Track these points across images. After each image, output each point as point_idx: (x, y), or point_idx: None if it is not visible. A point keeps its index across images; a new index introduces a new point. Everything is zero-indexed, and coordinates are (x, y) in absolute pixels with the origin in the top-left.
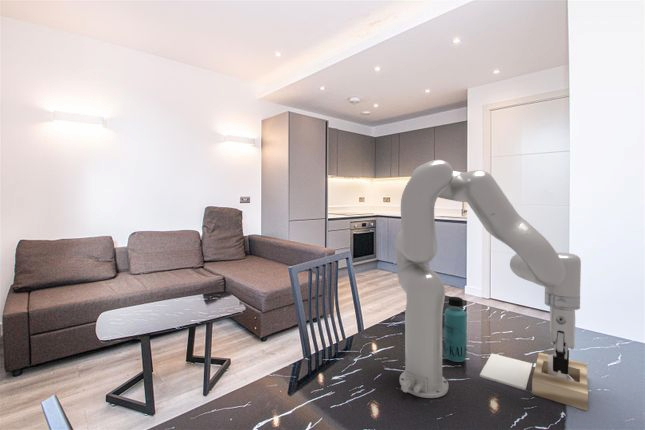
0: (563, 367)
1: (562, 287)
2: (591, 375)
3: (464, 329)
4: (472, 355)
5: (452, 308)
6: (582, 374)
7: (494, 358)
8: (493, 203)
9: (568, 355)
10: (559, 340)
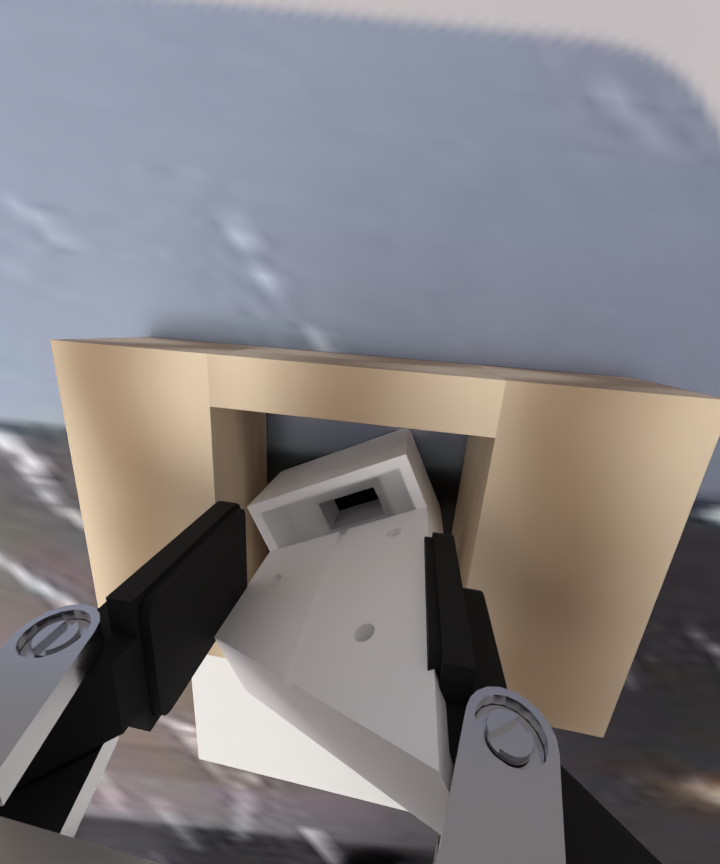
0: (485, 619)
1: None
2: (92, 302)
3: None
4: (266, 814)
5: None
6: (306, 397)
7: (251, 754)
8: None
9: (179, 562)
10: None
